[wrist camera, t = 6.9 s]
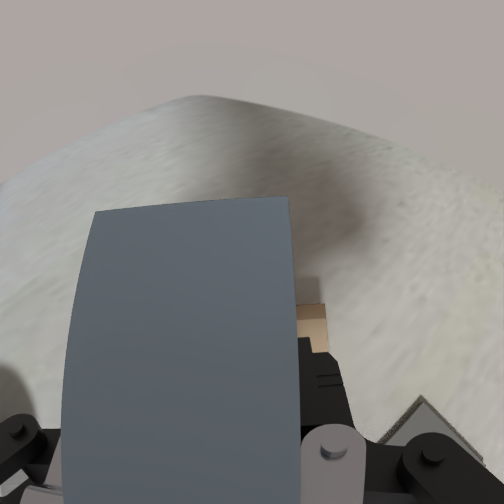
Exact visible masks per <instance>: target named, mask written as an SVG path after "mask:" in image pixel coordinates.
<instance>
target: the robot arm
mask: <svg viewBox="0 0 504 504" xmlns="http://www.w3.org/2000/svg"><path fill="white" fill-rule="evenodd" d="M298 361H299V390H300V434H301V504H504V484H503V483H502V482H501V481H500V480H499V479H497V478H496V477H495V476H494V475H493V474H492V473H491V472H489V471H488V470H487V469H486V468H485V467H484V466H483V465H482V464H480V463H479V462H478V461H477V460H476V459H475V458H474V457H473V456H471V455H470V454H469V453H468V452H467V451H466V450H465V449H464V448H462V447H461V446H460V445H459V444H458V443H457V442H456V441H455V440H453V439H452V438H451V437H449V436H447V435H445V434H442V433H437V432H427V433H422V434H420V435H417V436H415V437H414V438H412V439H411V440H410V441H409V442H408V443H407V444H406V446H394V445H383V444H377V443H374V442H371V441H369V440H367V439H366V438H364V437H363V436H362V435H361V434H360V433H359V432H358V431H357V430H356V428H355V426H354V424H353V420H352V416H351V412H350V408H349V404H348V400H347V396H346V392H345V388H344V386H343V381H342V377H341V373H340V369H339V366H338V362H337V361H336V360H335V359H334V358H333V357H332V356H331V355H330V354H329V353H328V352H318V353H313V352H312V347H311V341H310V337H298ZM20 469H22V470H23V472H24V473H25V474H26V475H27V476H28V477H29V478H28V479H27V480H25V481H24V482H23V483H22V484H20V485H19V486H18V487H16V488H15V489H14V490H13V491H11V492H10V493H9V494H8V495H6V496H4V497H0V504H64V502H63V490H62V474H61V429H41V427H40V425H39V424H38V422H37V421H36V419H35V418H34V417H33V416H31V415H28V414H17V415H14V416H11V417H10V418H8V419H7V420H5V421H4V422H2V423H1V424H0V485H1V484H2V483H4V482H5V481H6V480H8V479H9V478H10V477H11V476H13V475H14V474H15V473H17V472H18V471H19V470H20Z"/></svg>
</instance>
